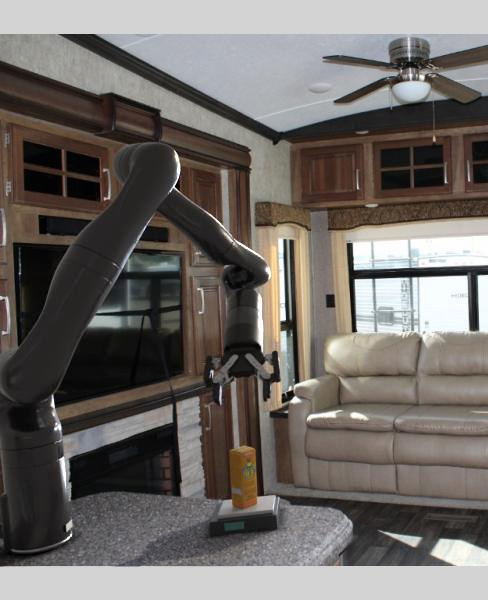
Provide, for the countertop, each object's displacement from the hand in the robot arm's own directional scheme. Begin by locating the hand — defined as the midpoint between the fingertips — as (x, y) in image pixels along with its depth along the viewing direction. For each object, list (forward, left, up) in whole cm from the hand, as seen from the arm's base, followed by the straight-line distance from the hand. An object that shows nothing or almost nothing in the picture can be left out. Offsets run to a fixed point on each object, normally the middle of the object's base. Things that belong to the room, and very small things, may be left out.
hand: (241, 401), depth 124 cm
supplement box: (0, -8, -17) cm, 19 cm away
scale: (0, -9, -20) cm, 21 cm away
